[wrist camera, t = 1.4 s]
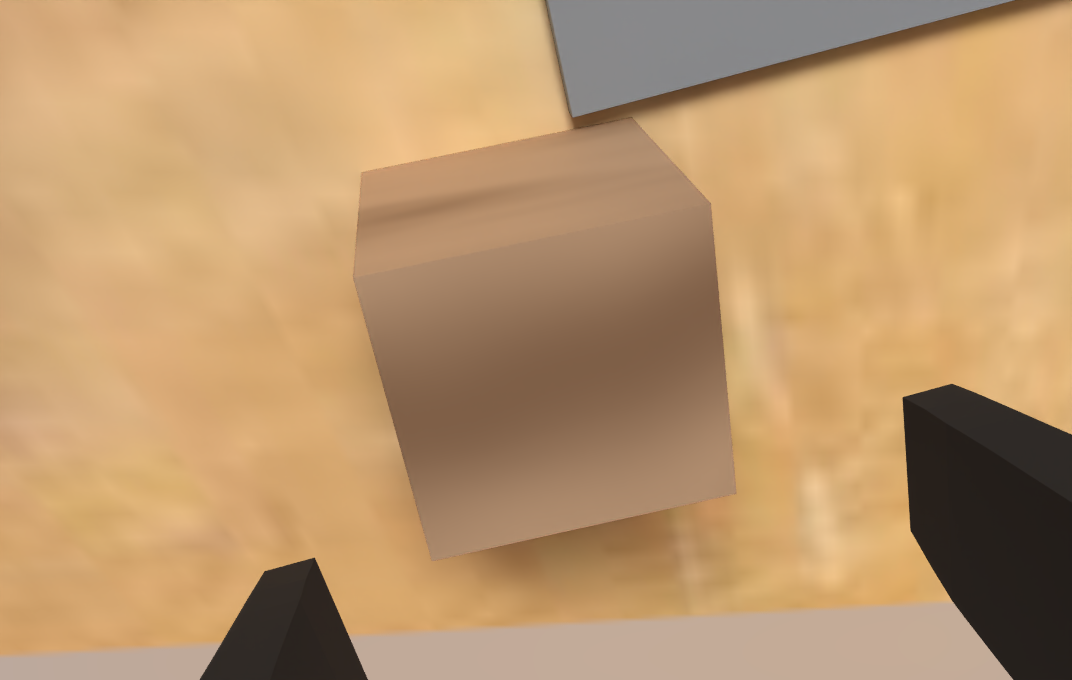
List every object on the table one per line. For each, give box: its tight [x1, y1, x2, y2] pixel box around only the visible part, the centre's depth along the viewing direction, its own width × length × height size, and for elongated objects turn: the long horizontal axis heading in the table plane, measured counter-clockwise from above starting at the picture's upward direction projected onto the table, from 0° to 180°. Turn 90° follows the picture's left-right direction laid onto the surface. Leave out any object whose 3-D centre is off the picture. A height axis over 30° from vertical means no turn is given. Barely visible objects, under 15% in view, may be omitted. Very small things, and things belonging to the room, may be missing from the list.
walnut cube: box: [353, 117, 736, 561], centre depth 18 cm, size 6×6×6 cm
